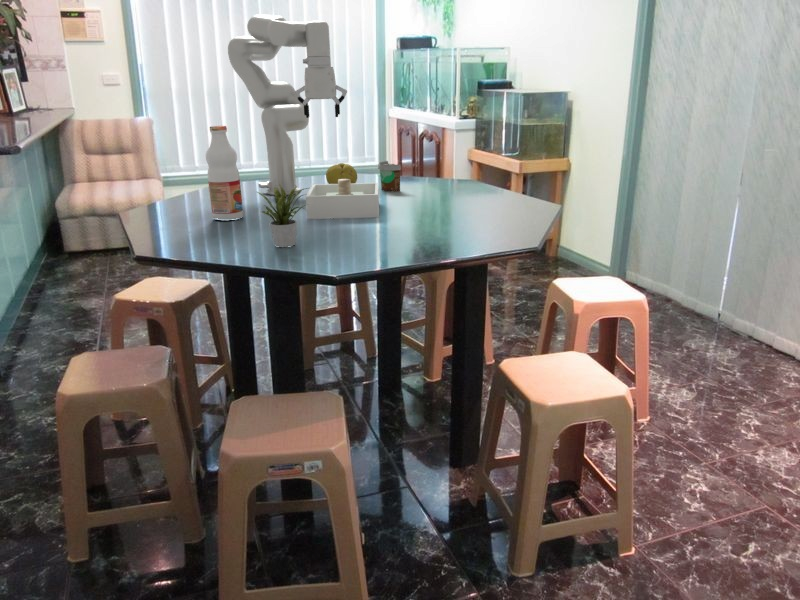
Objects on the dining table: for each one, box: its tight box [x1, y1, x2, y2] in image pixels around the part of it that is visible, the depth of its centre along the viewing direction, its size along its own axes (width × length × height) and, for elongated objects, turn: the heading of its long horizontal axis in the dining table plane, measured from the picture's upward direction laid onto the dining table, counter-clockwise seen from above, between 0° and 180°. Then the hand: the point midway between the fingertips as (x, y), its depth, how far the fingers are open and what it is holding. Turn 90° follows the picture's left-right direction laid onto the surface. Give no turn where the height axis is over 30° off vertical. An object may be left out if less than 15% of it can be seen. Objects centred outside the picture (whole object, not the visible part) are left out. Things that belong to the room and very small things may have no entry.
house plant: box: [256, 184, 309, 247], centre depth 166 cm, size 14×14×16 cm
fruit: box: [325, 162, 358, 184], centre depth 245 cm, size 11×12×10 cm
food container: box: [377, 160, 402, 192], centre depth 243 cm, size 12×6×10 cm, turn 25°
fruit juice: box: [205, 125, 244, 219], centre depth 198 cm, size 9×9×28 cm
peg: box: [338, 179, 351, 195], centre depth 208 cm, size 4×4×10 cm
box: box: [305, 182, 380, 220], centre depth 208 cm, size 22×22×7 cm
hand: (322, 117), depth 216 cm, fingers open, 9 cm apart
